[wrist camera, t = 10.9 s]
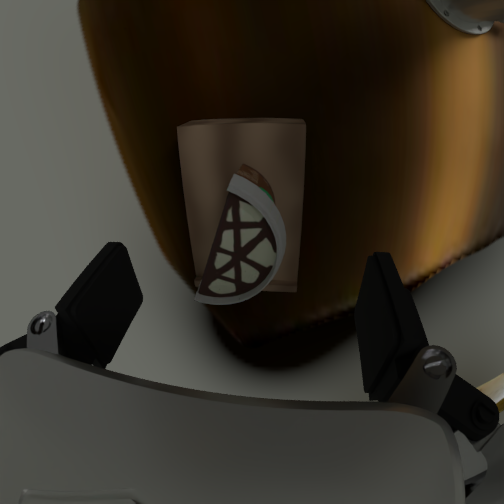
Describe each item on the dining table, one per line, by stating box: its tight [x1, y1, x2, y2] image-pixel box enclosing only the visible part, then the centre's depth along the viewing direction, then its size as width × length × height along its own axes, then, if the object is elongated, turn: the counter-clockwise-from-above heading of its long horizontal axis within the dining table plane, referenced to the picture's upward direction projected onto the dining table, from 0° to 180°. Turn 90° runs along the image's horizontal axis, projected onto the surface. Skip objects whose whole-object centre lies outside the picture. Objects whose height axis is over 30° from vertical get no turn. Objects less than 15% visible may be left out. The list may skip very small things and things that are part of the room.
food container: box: [194, 164, 286, 305], centre depth 27 cm, size 12×6×10 cm, turn 161°
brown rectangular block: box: [177, 118, 306, 292], centre depth 33 cm, size 13×20×6 cm, turn 1°
